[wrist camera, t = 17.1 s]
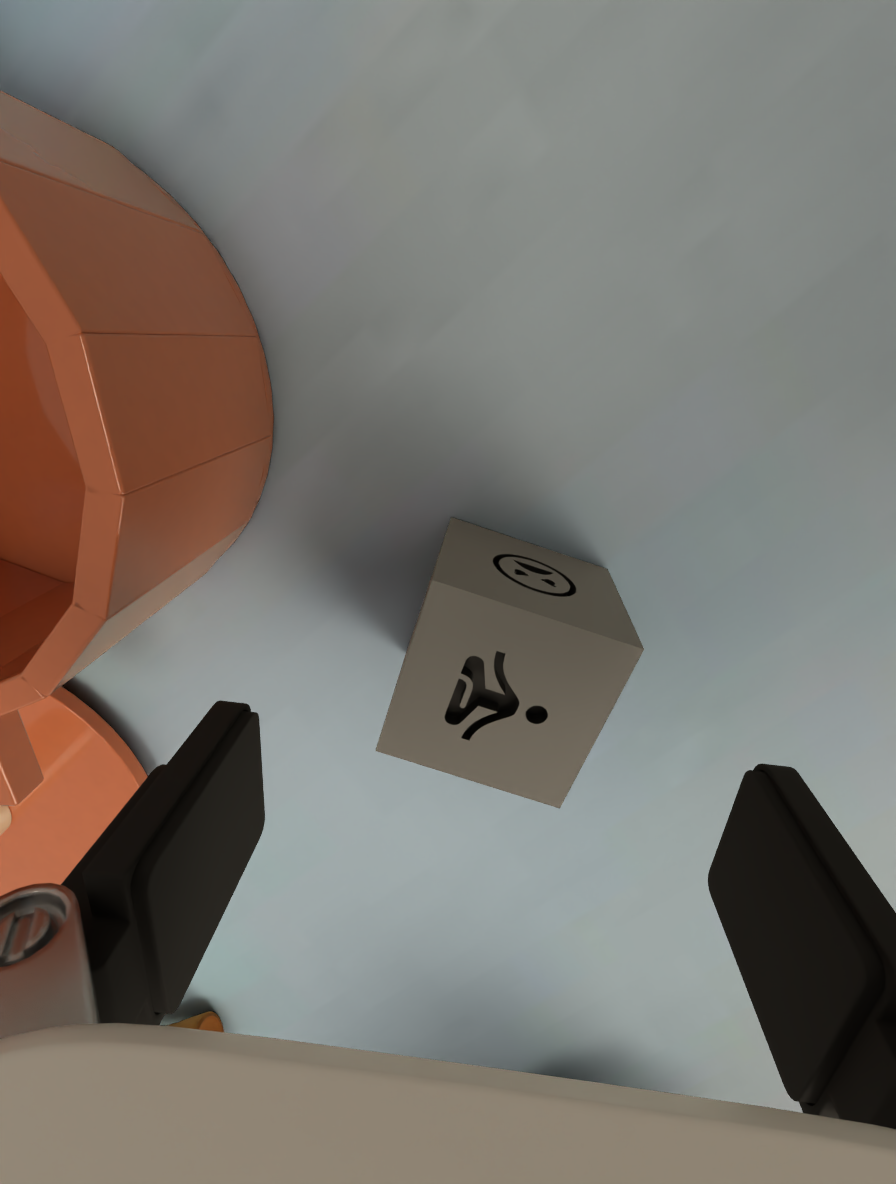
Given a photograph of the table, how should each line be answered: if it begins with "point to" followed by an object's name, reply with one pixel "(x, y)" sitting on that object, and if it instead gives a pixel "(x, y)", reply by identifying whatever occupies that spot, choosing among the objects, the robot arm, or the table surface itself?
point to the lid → (65, 791)
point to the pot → (109, 410)
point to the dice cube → (510, 665)
